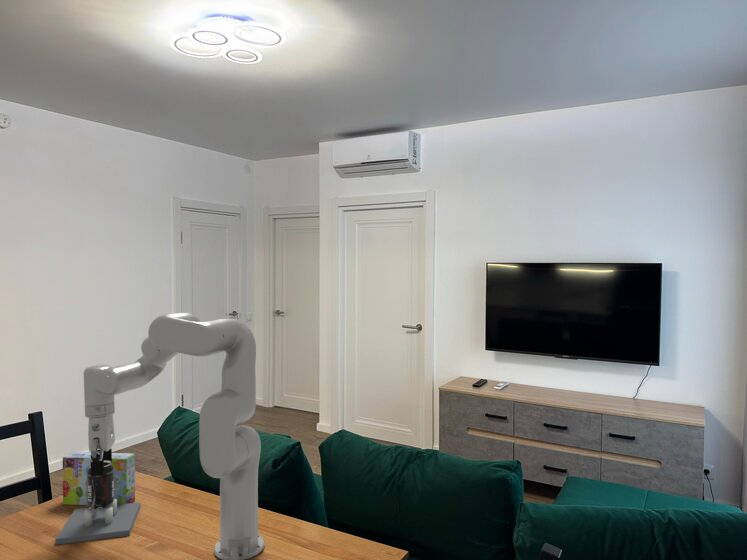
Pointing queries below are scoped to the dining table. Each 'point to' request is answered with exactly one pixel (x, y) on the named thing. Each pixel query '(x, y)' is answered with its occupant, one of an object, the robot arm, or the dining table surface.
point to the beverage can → (101, 487)
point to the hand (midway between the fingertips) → (101, 469)
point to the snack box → (77, 477)
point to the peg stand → (99, 523)
